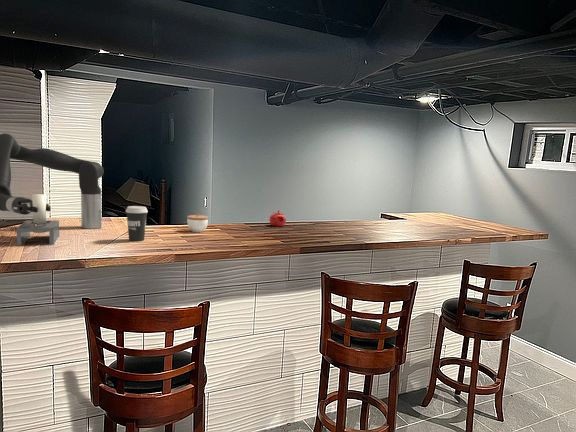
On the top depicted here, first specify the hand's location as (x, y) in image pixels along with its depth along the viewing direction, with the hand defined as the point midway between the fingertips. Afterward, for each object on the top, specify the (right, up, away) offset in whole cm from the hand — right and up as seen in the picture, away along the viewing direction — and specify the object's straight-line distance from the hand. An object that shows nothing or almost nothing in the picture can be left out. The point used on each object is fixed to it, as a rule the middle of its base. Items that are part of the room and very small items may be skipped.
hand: (43, 209), depth 184 cm
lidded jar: (+57, -11, +41) cm, 71 cm away
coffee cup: (+36, -14, +11) cm, 40 cm away
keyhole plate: (-2, -13, 0) cm, 13 cm away
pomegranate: (+98, -9, +73) cm, 123 cm away
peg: (-3, -10, +3) cm, 10 cm away
